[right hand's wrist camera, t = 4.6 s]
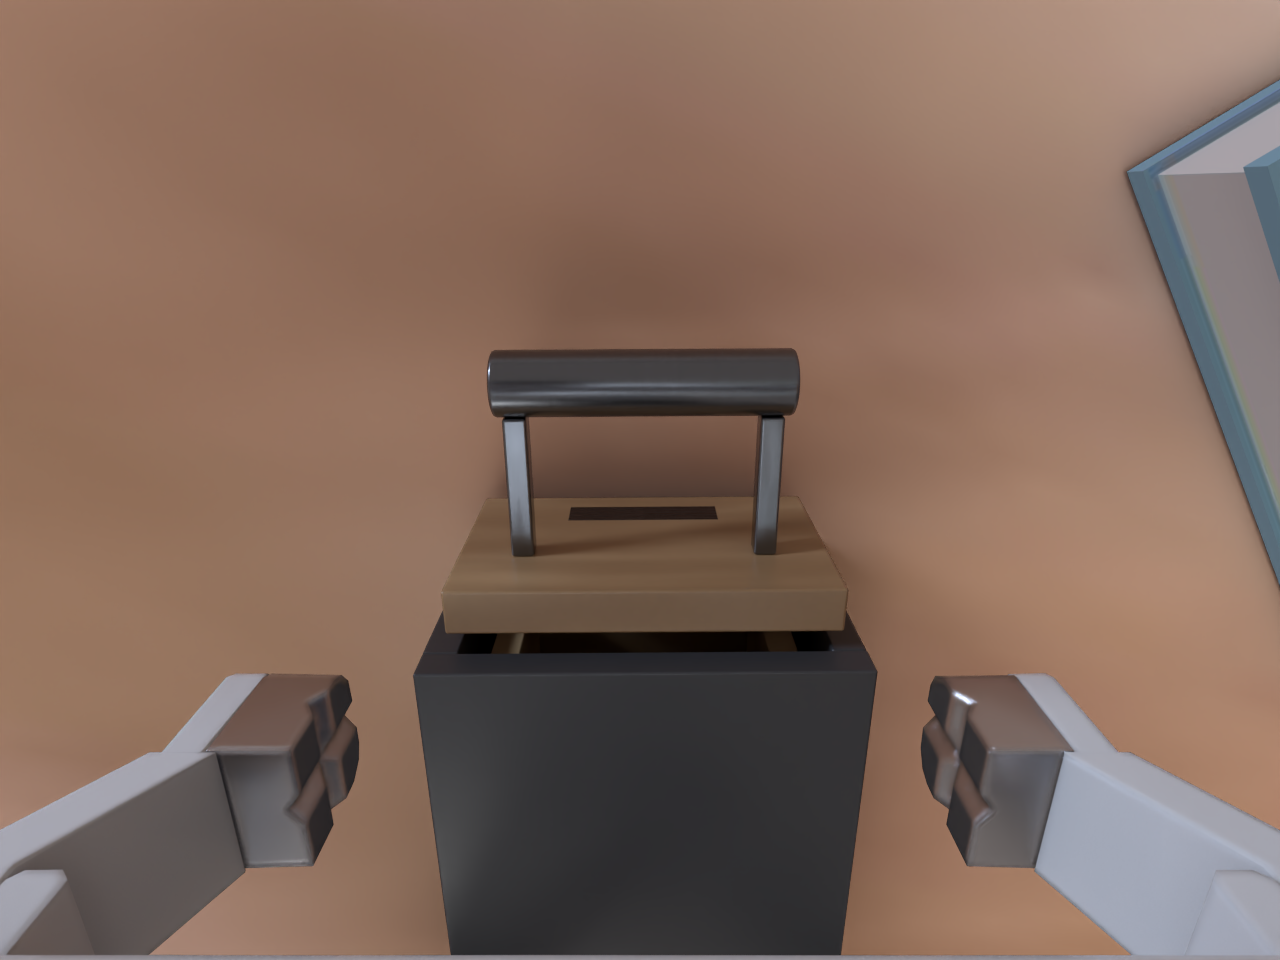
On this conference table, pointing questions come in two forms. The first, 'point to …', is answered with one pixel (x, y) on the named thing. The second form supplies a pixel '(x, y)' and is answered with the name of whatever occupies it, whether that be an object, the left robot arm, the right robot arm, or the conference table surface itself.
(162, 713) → the conference table surface
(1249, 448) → the book
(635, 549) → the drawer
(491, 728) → the dark boxy piece
